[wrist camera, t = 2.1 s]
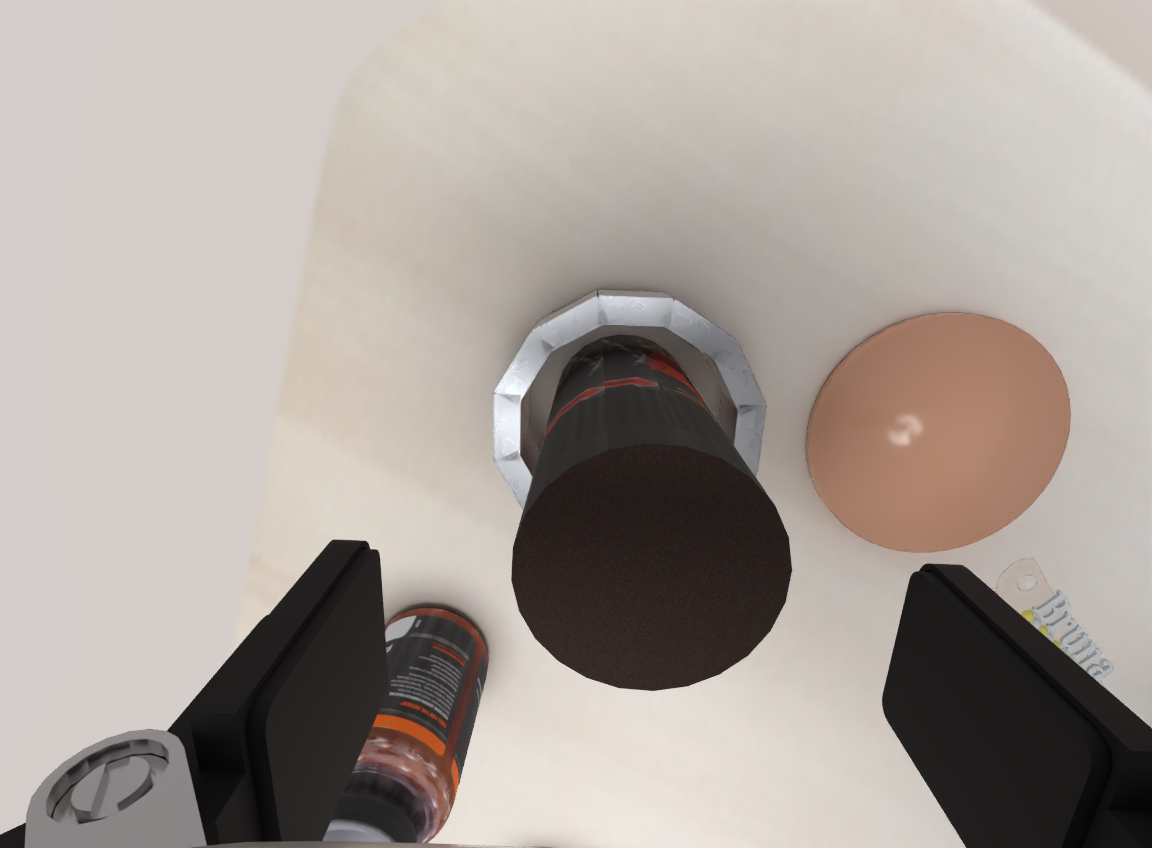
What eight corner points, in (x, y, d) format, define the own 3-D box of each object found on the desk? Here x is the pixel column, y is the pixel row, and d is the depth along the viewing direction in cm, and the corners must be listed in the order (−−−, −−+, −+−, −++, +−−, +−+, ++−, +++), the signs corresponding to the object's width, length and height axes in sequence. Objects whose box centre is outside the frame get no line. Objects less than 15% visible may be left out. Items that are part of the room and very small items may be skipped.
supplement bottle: (374, 598, 30) (251, 793, 20) (490, 604, 30) (432, 803, 20) (381, 695, 32) (272, 923, 21) (491, 701, 32) (437, 933, 21)
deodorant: (538, 358, 27) (469, 491, 12) (667, 316, 26) (754, 405, 12) (580, 476, 28) (562, 717, 14) (702, 440, 27) (818, 653, 13)
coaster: (1087, 317, 25) (1102, 320, 25) (1021, 549, 28) (1033, 558, 28) (826, 307, 26) (833, 309, 25) (790, 538, 29) (795, 546, 28)
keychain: (988, 586, 29) (1043, 548, 28) (980, 580, 29) (1034, 542, 29) (1103, 718, 31) (1157, 685, 30) (1093, 710, 31) (1146, 677, 31)
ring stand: (745, 292, 25) (779, 302, 21) (720, 506, 28) (745, 559, 24) (512, 282, 26) (493, 291, 21) (511, 496, 29) (494, 547, 24)
